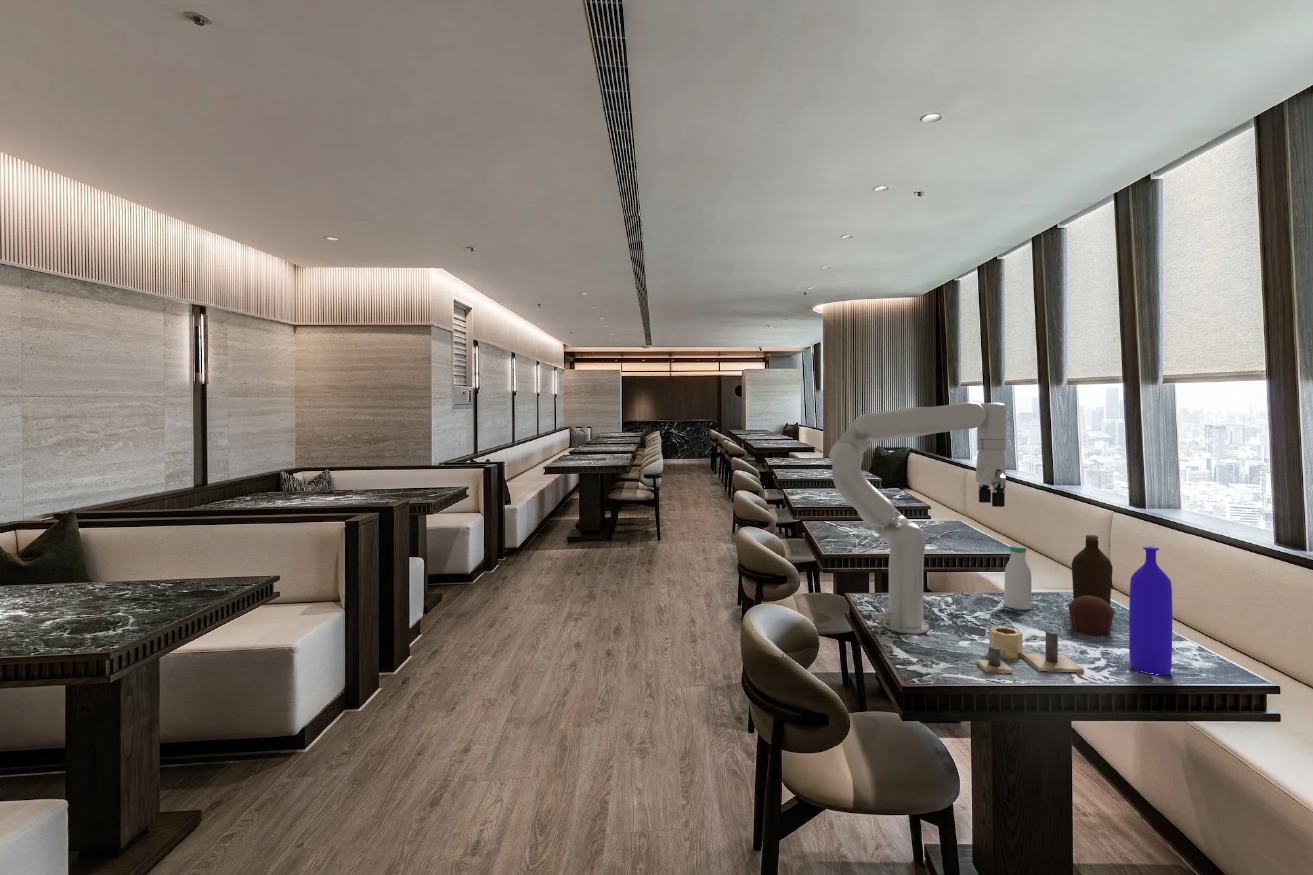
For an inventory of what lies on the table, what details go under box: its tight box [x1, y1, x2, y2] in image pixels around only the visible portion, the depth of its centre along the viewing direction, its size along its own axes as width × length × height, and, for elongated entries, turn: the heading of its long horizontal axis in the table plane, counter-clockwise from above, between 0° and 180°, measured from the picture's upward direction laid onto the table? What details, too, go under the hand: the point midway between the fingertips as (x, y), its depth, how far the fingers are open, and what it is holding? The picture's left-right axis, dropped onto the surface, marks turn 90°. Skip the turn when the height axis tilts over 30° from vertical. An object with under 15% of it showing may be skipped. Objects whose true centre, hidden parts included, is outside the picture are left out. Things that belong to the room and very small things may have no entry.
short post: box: [976, 646, 1014, 674], centre depth 157 cm, size 6×6×5 cm
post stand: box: [1020, 630, 1085, 674], centre depth 159 cm, size 10×10×8 cm
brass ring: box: [988, 626, 1024, 660], centre depth 167 cm, size 7×7×6 cm
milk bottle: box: [1004, 545, 1033, 611], centre depth 210 cm, size 8×8×20 cm
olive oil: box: [1071, 534, 1114, 606], centre depth 201 cm, size 11×11×25 cm
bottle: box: [1128, 545, 1173, 676], centre depth 156 cm, size 8×8×30 cm
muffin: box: [1067, 595, 1116, 637], centre depth 185 cm, size 12×11×10 cm
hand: (991, 504), depth 186 cm, fingers open, 9 cm apart
